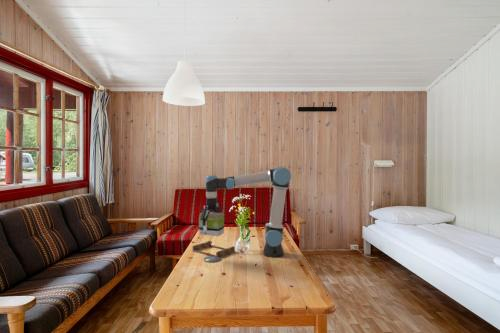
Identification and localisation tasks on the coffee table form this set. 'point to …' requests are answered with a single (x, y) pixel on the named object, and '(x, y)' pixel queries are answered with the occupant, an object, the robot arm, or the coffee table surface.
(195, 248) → the caddy
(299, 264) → the coffee table surface
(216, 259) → the trivet
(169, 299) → the coffee table surface
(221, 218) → the tea box
